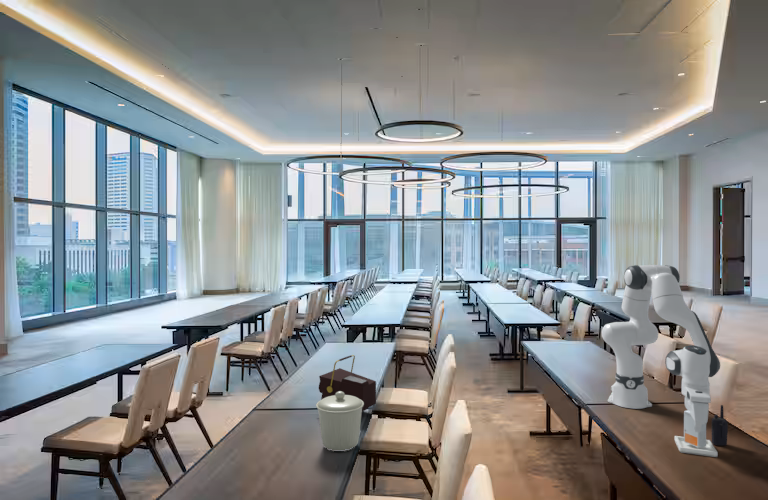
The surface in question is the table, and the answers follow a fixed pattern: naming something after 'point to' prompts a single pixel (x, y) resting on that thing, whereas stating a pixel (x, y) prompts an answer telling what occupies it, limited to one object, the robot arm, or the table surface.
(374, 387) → the brown box with handle
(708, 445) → the tray
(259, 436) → the table surface
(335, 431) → the canister
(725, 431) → the two-way radio
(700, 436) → the skincare box
